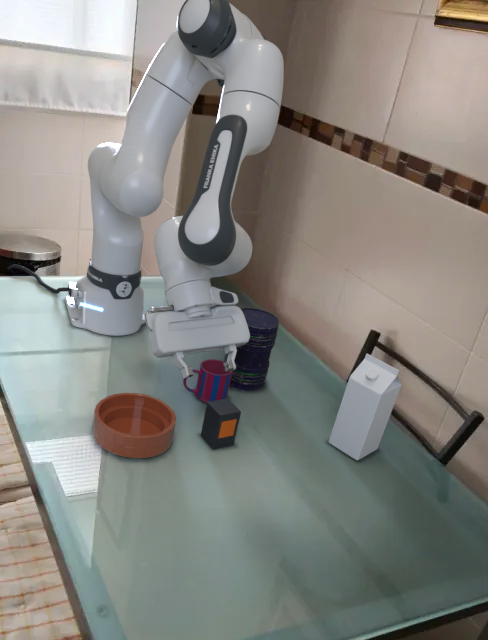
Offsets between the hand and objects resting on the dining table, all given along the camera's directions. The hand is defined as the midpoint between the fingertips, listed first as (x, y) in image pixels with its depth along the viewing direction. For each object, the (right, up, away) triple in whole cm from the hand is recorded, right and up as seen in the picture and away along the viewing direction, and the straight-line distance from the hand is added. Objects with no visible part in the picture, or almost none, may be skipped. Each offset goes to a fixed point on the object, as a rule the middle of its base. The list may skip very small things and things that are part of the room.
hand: (210, 373), depth 122 cm
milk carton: (+28, -14, +6) cm, 32 cm away
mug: (-1, -4, +13) cm, 14 cm away
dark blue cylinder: (+7, 0, +22) cm, 23 cm away
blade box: (+1, -12, 0) cm, 13 cm away
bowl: (-14, -12, -3) cm, 19 cm away
